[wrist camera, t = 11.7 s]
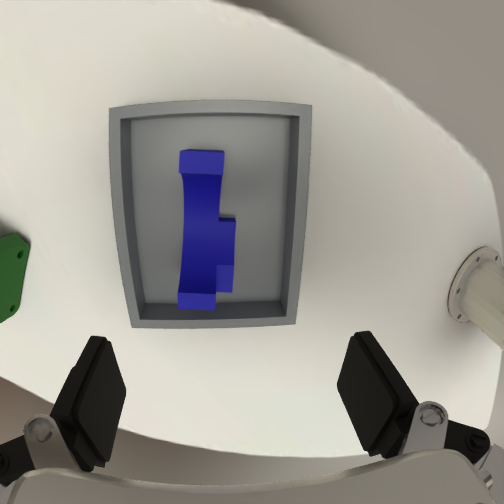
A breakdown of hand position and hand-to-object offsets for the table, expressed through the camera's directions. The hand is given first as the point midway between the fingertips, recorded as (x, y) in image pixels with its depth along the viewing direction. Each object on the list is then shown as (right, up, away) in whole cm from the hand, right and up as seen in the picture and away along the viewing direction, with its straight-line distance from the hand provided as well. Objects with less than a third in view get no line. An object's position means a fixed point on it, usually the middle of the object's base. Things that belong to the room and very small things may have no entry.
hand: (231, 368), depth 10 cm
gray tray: (-3, +8, +17) cm, 19 cm away
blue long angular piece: (-3, +8, +16) cm, 18 cm away
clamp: (-30, +3, +16) cm, 34 cm away
